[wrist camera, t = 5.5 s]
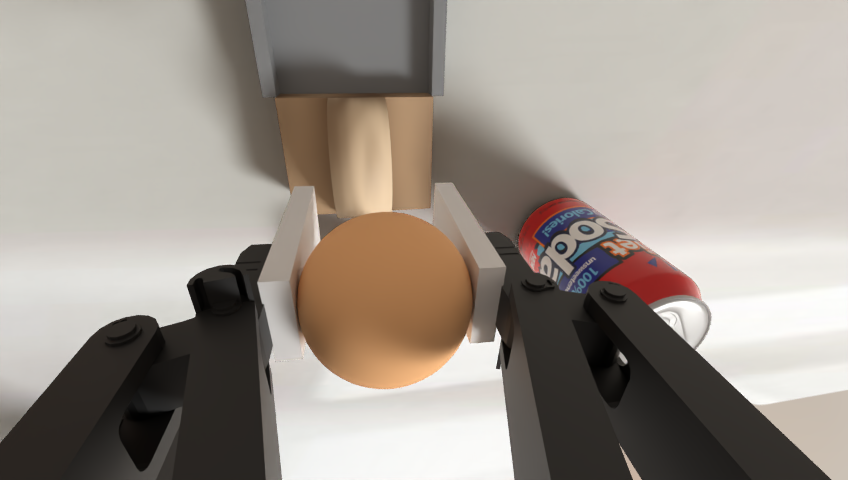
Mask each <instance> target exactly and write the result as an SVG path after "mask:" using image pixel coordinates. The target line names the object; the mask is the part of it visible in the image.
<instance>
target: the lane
mask: <svg viewBox="0 0 848 480" xmlns="http://www.w3.org/2000/svg"><path fill="white" fill-rule="evenodd" d="M245 2H246V7H247V13H248V18H249V24H250V29H251V35H252V41H253V46H254V52H255V57H256V63H257V68H258V74H259V79H260V85H261V90H262V96H263V97H277V96H278V95H279V94H344V93H429V94H430V95H431V96H443V95H444V69H445V42H446V16H447V0H245Z"/></svg>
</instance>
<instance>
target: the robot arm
mask: <svg viewBox="0 0 848 480" xmlns="http://www.w3.org/2000/svg"><path fill="white" fill-rule="evenodd" d="M433 226H435V227H436V228H437V229H439V230H440V231H441V232H442V233H443V234H445V235H446V236H447V237H448V238H449V240H450V241H451V242H452V243H453V244H454V245H455V247H456V248H457V250H458V251H459V253H460V254H461V256H462V258H463V260H464V262H465V264H466V266H467V269H468V272H469V276H470V279H471V285H472V293H473V305H472V314H471V319H470V323H469V326H468V329H467V332H466V334H467V337H468V339H469V342H470V344H471V343H481V342H492V341H494V338H495V332H496V327H497V329H498V331H499V333H500V335H501V344H500V349H499V355H498V360H497V366H496V369H500V366H501V368H502V377H503V385H504V393H505V402H506V410H507V419H508V427H509V436H510V444H511V452H512V461H513V469H514V478H515V480H633V479H632V476H631V474H630V471H629V468H628V466H627V463H626V461H625V458H624V455H623V453H622V450H621V448H620V446H621V447H622V449H623V450H624V452H625V454H626V455H627V457H628V458H629V460H630V461H631V463H632V465H633V466H634V468H635V469H636V471H637V472H638V474H639V476H640V477H641V479H642V480H831V479H830V478H829V477H828V476H827V475H826V474H825V473H824V472H823V471H822V470H821V469H820V468H819V467H817V466H816V465H815V464H814V463H813V462H812V461H811V460H810V459H809V458H808V457H807V456H806V455H805V454H804V453H803V452H802V451H801V450H800V449H799V448H798V447H796V446H795V445H794V444H793V443H792V442H791V441H790V440H789V439H788V438H787V437H786V436H785V435H784V434H782V432H781V431H780V430H779V429H778V428H776V427H775V426H774V425H773V424H772V423H771V422H770V421H769V420H768V419H767V418H766V417H765V416H764V415H763V414H762V413H760V411H759V410H757V409H756V408H755V407H754V406H753V405H752V404H751V403H750V402H749V401H748V400H747V399H746V398H745V397H744V396H743V395H742V394H741V393H740V392H739V391H738V390H737V389H735V388H734V387H733V386H732V385H731V384H730V383H729V382H728V381H727V380H726V379H725V378H724V377H723V376H722V375H721V374H720V373H719V372H718V371H717V370H715V369H714V368H713V367H712V366H711V365H710V364H709V363H708V362H707V361H706V360H705V359H704V358H703V357H702V356H701V355H700V354H699V353H698V352H697V351H695V350H694V349H693V348H692V347H691V346H690V345H689V344H688V343H687V342H686V341H685V340H684V339H683V338H682V337H681V336H680V335H679V334H678V333H677V332H675V331H674V330H673V329H672V328H671V327H670V326H669V325H668V324H667V323H666V322H665V321H664V320H663V319H662V318H661V317H660V316H659V315H658V314H657V313H656V312H654V311H653V310H652V309H651V308H650V307H649V306H648V305H647V304H646V303H645V302H644V301H643V300H642V299H641V298H640V297H639V296H638V295H637V294H636V293H634V292H633V291H632V290H630V289H629V288H627V287H625V286H623V285H621V284H619V283H616V282H611V281H596V282H593V283H591V284H590V285H589V286H588V289H587V293H586V294H583V293H576V292H568V291H563V290H560V289H559V286H558V285H557V283H556V282H555V281H554V280H553V279H551V278H550V277H548V276H546V275H543V274H541V273H536V272H534V271H533V270H532V269H531V267H530V266H529V265H528V263H527V262H526V261H525V259H524V258H523V257H522V255H521V254H520V253H519V251H518V250H517V248H515V246H514V244H513V243H512V242H511V240H510V239H509V238H507V237H506V236H504V235H503V234H501V233H499V232H490V233H484V231H483V230H482V228H481V227H480V225H479V223H478V222H477V220H476V219H475V217H474V216H473V214H472V212H471V211H470V209H469V208H468V206H467V205H466V203H465V202H464V200H463V198H462V197H461V195H460V194H459V192H458V191H457V189H456V187H455V186H454V184H453V183H452V182H450V183H435V188H434V208H433ZM319 242H320V232H319V224H318V215H317V206H316V198H315V189H314V186H294V189H293V191H292V194H291V197H290V199H289V202H288V204H287V207H286V210H285V212H284V215H283V217H282V220H281V223H280V225H279V228H278V230H277V233H276V235H275V238H274V241H273V243H272V244H260V245H251V246H249V247H248V248H247V249H246V250H244V251H243V252H242V253H241V254H240V256H239V258H238V260H237V262H236V264H235V265H222V266H216V267H212V268H209V269H206V270H204V271H202V272H200V273H198V274H196V275H195V276H194V277H193V278H191V279H190V281H189V282H188V284H187V288H188V291H189V294H190V297H191V300H192V303H193V306H194V309H195V312H196V317H194V318H192V319H189V320H186V321H183V322H179V323H176V324H172V325H168V326H164V327H160V328H159V325H158V323H157V321H156V319H155V318H153V317H150V316H145V315H136V316H131V317H125V318H122V319H119V320H116V321H114V322H111V323H110V324H108V325H106V326H104V327H102V328H101V329H99V330H98V331H97V332H96V333H95V334H93V335H92V336H91V337H90V338H89V339H88V341H87V342H86V343H85V344H84V345H83V346H82V348H81V349H80V350H79V351H78V352H77V354H76V355H75V356H74V357H73V358H72V359H71V361H70V362H69V363H68V364H67V365H66V367H65V368H64V369H63V370H62V371H61V372H60V374H59V375H58V376H57V377H56V378H55V379H54V381H53V382H52V383H51V384H50V385H49V387H48V388H47V389H46V390H45V391H44V392H43V394H42V395H41V396H40V397H39V398H38V400H37V401H36V402H35V403H34V404H33V405H32V407H31V408H30V409H29V410H28V411H27V412H26V414H25V415H24V416H23V417H22V418H21V420H20V421H19V422H18V423H17V424H16V425H15V427H14V428H13V429H12V430H11V431H10V433H9V434H8V435H7V436H6V437H5V438H4V440H3V441H2V442H1V443H0V480H282V475H281V465H280V455H279V445H278V435H277V424H276V414H275V404H274V394H273V384H272V373H271V369H270V365H269V359H270V355H271V351H273V355H274V360H275V362H281V361H291V360H302V359H303V356H304V350H305V343H306V340H305V338H304V335H303V333H302V330H301V327H300V323H299V319H298V310H297V293H298V284H299V281H300V277H301V273H302V271H303V268H304V266H305V264H306V261H307V259H308V258H309V256H310V255H311V253H312V251H313V250H314V248H315V247H316V246H317V244H318V243H319ZM620 352H621V353H622V354H623V355H624V357H625V358H626V360H627V363H626V364H625V363H624V362H623V361H622V360H621V358H620V357H619V355H620ZM619 444H620V445H619Z"/></svg>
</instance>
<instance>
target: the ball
mask: <svg viewBox="0 0 848 480" xmlns="http://www.w3.org/2000/svg"><path fill="white" fill-rule="evenodd" d="M472 305H473V293H472V285H471V279H470V276H469V272H468V269H467V266H466V264H465V262H464V260H463V258H462V256H461V254H460V253H459V251H458V250H457V248H456V247H455V245H454V244H453V243H452V242H451V241H450V240H449V238H448V237H447V236H446V235H445V234H443V233H442V232H441V231H440V230H439V229H437V228H436V227H435V226H433V225H431V224H429V223H428V222H426V221H424V220H422V219H419V218H417V217H414V216H411V215H408V214H404V213H397V212H376V213H369V214H365V215H361V216H358V217H355V218H352V219H350V220H348V221H346V222H344V223H342V224H341V225H339V226H338V227H336V228H335V229H333V230H332V231H331V232H330V233H328V234H327V235H326V236H325V237H324V238H323V239H322V240H321V241H320V242H319V243H318V244H317V246H316V247H315V248H314V250H313V251H312V253H311V255H310V256H309V258H308V259H307V261H306V264H305V266H304V268H303V271H302V273H301V277H300V281H299V284H298V293H297V310H298V319H299V323H300V327H301V330H302V333H303V335H304V338H305V340H306V342H307V344H308V345H309V347H310V349H311V350H312V352H313V353H314V355H315V356H316V357H317V358H318V360H319V361H320V362H321V363H322V364H323V365H324V366H325V367H326V368H328V369H329V370H330V371H331V372H332V373H334V374H336V375H337V376H339V377H340V378H342V379H344V380H346V381H348V382H350V383H353V384H356V385H359V386H363V387H367V388H375V389H393V388H400V387H404V386H408V385H411V384H414V383H416V382H419V381H421V380H423V379H425V378H427V377H429V376H430V375H432V374H433V373H435V372H436V371H438V370H439V369H440V368H441V367H442V366H443V365H445V363H446V362H447V361H448V360H449V359H450V358H451V357H452V356H453V355H454V353H455V352H456V351H457V349H458V348H459V346H460V344H461V342H462V340H463V339H464V337H465V335H466V332H467V329H468V326H469V323H470V319H471V314H472Z"/></svg>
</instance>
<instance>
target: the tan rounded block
mask: <svg viewBox="0 0 848 480" xmlns="http://www.w3.org/2000/svg"><path fill="white" fill-rule="evenodd" d="M275 103H276V109H277V115H278V121H279V127H280V133H281V139H282V145H283V151H284V157H285V163H286V169H287V175H288V181H289V187H290V193H291V194H292V191H293V189H294V186H314V189H315V198H316V206H317V214H335V213H336V214H337V217H338V218H353V217H358V216H361V215H365V214H369V213H376V212H392V210H407V209H425V208H430V206H431V167H432V127H433V96H431V95H430V94H429V93H344V94H279V95H278V96H277V97H276V98H275Z"/></svg>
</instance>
